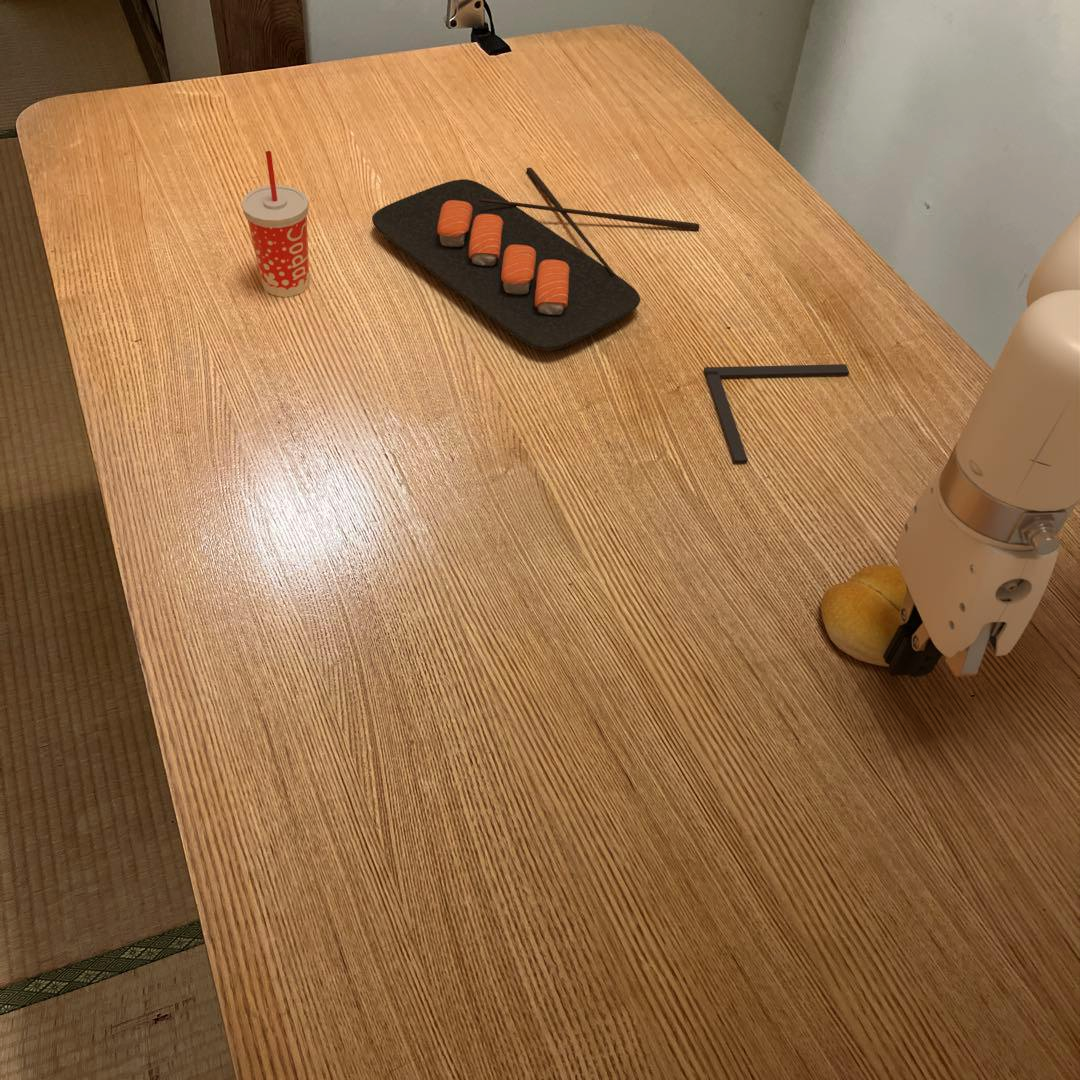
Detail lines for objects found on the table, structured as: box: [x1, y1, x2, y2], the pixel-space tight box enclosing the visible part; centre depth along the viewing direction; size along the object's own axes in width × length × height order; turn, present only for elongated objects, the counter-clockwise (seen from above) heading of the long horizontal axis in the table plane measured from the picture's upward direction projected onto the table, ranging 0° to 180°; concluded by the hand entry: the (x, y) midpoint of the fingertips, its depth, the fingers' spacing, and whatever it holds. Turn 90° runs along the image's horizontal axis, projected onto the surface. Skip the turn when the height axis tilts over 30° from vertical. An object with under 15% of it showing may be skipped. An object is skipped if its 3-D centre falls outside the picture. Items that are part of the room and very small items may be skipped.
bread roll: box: [820, 564, 907, 668], centre depth 81 cm, size 8×9×4 cm
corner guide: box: [703, 363, 850, 465], centre depth 99 cm, size 14×13×1 cm
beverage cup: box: [241, 150, 310, 298], centre depth 102 cm, size 6×6×14 cm
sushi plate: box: [371, 167, 700, 351], centre depth 113 cm, size 29×30×4 cm
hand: (906, 665), depth 78 cm, fingers closed
